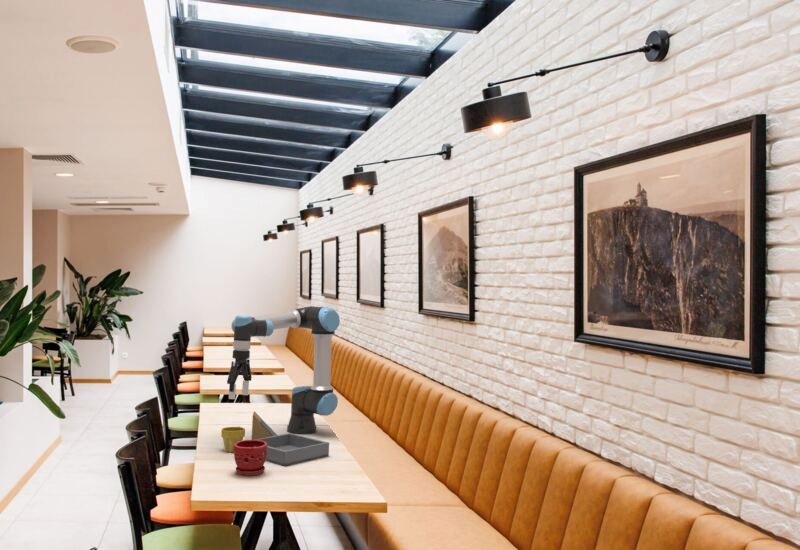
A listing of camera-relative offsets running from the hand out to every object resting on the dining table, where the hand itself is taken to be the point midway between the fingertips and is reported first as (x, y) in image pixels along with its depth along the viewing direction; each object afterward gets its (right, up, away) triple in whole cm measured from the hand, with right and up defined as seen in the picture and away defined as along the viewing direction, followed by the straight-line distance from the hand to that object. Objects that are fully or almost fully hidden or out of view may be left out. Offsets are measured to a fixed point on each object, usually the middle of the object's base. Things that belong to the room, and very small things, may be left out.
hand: (238, 397), depth 322 cm
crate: (+23, -25, -5) cm, 34 cm away
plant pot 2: (+12, -25, -35) cm, 45 cm away
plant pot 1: (-3, -24, 0) cm, 24 cm away
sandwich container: (+11, -25, +15) cm, 31 cm away
